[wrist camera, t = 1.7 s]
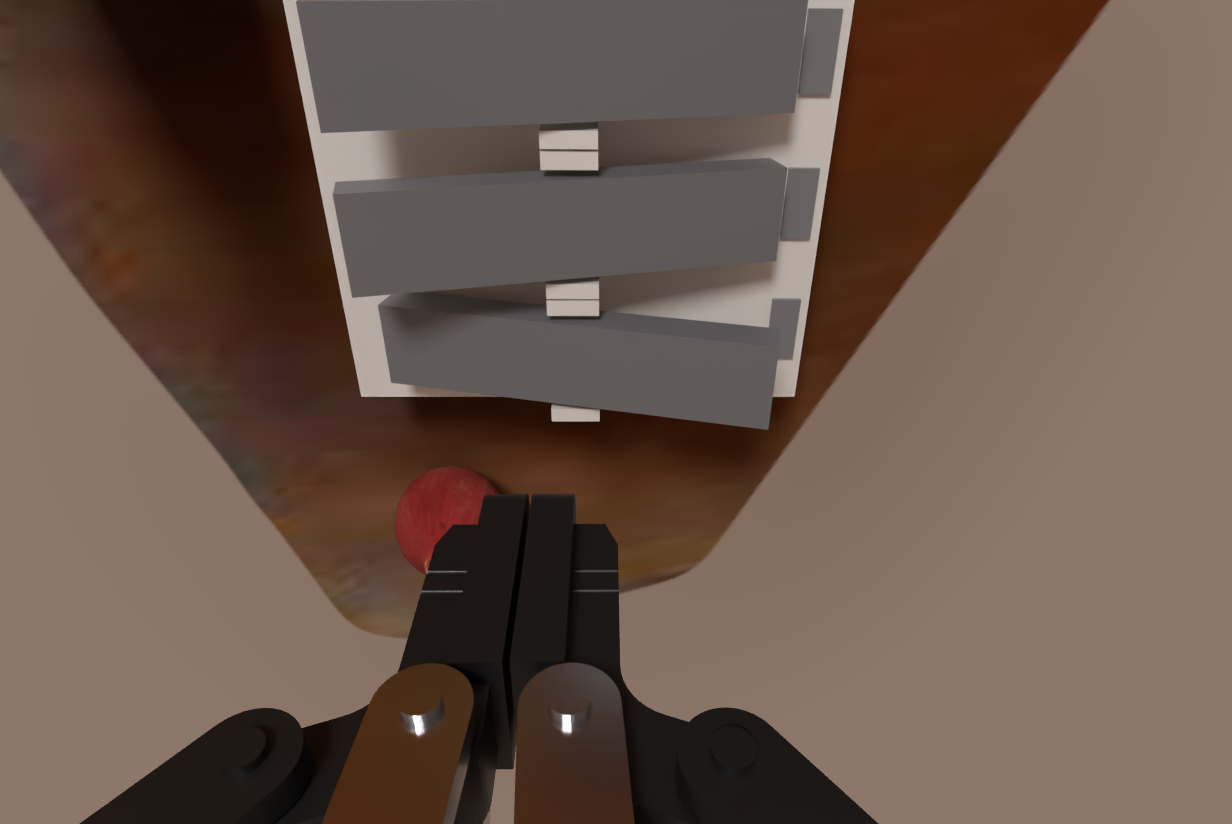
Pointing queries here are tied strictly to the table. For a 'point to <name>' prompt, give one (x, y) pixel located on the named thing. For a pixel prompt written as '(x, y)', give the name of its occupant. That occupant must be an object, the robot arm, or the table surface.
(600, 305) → the board rack
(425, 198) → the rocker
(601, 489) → the table surface
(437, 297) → the grey board
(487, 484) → the onion
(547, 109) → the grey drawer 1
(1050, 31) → the table surface
